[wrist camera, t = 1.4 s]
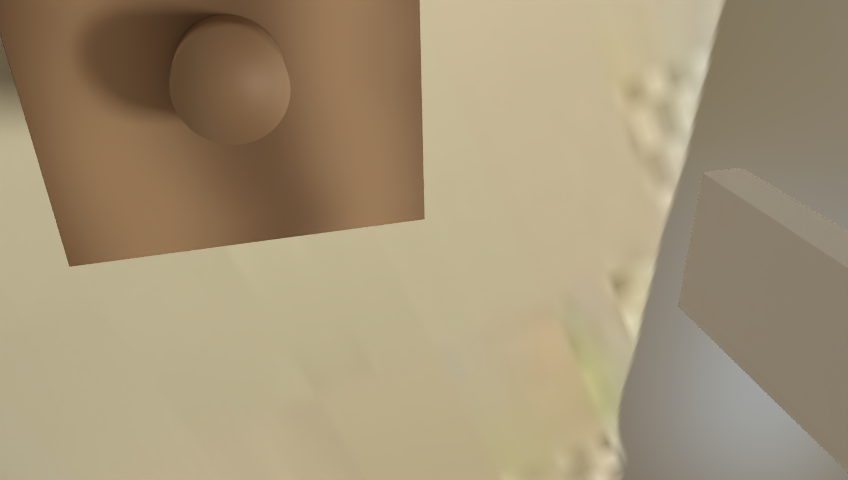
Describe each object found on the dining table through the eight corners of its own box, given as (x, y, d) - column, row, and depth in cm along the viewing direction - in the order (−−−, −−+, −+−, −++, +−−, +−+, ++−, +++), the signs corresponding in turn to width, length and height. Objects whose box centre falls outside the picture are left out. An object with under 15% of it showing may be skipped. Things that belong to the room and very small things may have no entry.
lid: (87, 216, 25) (57, 302, 20) (-13, -150, 19) (-86, -151, 15) (401, 178, 27) (440, 247, 22) (388, -159, 22) (435, -161, 17)
